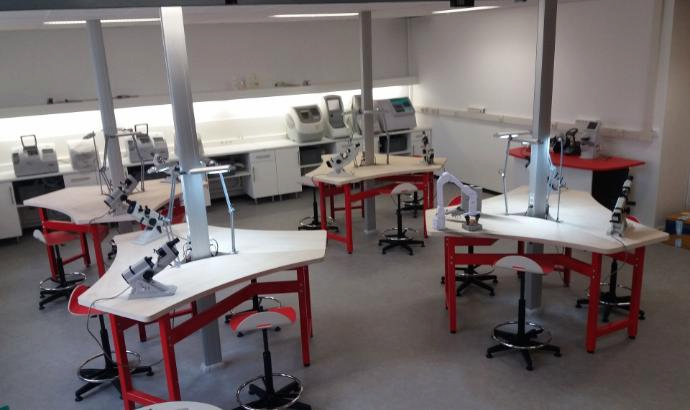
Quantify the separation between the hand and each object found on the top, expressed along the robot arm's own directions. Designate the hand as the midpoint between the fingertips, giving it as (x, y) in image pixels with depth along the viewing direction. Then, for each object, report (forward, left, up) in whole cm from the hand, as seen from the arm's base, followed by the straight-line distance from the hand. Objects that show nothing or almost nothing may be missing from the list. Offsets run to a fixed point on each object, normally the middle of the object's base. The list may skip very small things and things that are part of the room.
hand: (472, 224), depth 442 cm
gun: (0, +28, -4) cm, 28 cm away
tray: (0, 0, -4) cm, 4 cm away
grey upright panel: (+24, +37, -4) cm, 44 cm away
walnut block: (0, 0, -3) cm, 3 cm away
